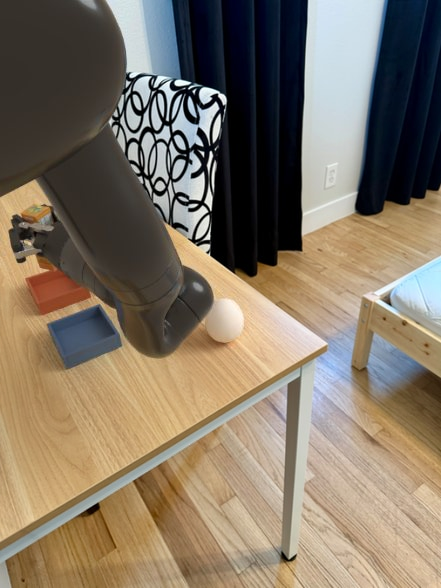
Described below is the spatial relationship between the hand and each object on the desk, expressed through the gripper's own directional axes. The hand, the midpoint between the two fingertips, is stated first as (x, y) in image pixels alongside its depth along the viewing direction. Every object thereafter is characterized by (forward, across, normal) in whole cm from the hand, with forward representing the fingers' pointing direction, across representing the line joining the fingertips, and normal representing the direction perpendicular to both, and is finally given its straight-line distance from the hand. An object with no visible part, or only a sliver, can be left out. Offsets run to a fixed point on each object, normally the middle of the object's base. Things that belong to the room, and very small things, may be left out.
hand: (30, 215), depth 66 cm
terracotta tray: (+3, -2, +18) cm, 18 cm away
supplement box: (-3, 0, +8) cm, 9 cm away
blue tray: (-12, +2, +18) cm, 21 cm away
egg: (-28, -14, +18) cm, 36 cm away
